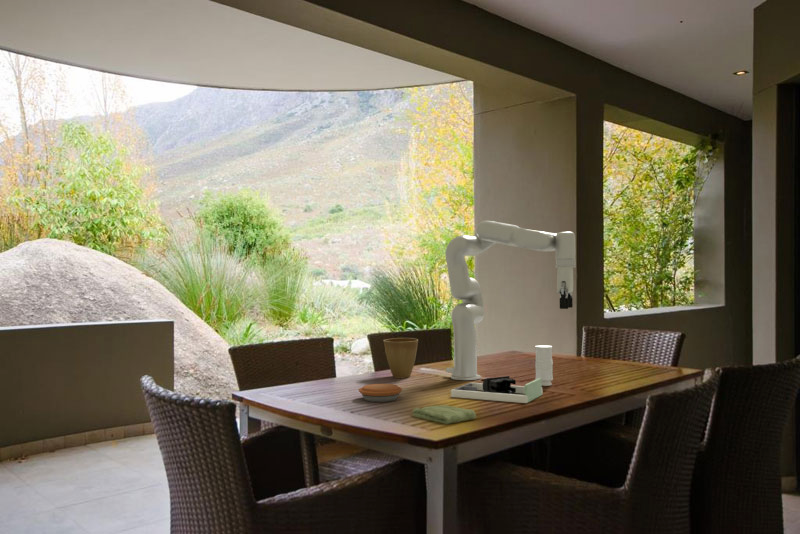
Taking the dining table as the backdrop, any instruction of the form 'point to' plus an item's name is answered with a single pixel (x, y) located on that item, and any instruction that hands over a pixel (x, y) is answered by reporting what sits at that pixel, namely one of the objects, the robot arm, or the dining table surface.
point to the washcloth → (444, 414)
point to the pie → (380, 392)
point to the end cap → (499, 385)
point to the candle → (544, 364)
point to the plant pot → (401, 355)
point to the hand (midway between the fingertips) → (566, 308)
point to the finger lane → (529, 389)
